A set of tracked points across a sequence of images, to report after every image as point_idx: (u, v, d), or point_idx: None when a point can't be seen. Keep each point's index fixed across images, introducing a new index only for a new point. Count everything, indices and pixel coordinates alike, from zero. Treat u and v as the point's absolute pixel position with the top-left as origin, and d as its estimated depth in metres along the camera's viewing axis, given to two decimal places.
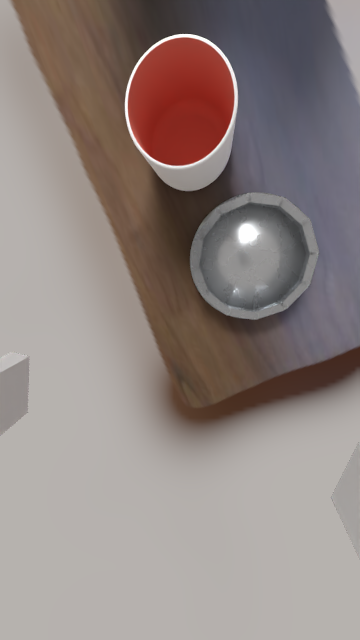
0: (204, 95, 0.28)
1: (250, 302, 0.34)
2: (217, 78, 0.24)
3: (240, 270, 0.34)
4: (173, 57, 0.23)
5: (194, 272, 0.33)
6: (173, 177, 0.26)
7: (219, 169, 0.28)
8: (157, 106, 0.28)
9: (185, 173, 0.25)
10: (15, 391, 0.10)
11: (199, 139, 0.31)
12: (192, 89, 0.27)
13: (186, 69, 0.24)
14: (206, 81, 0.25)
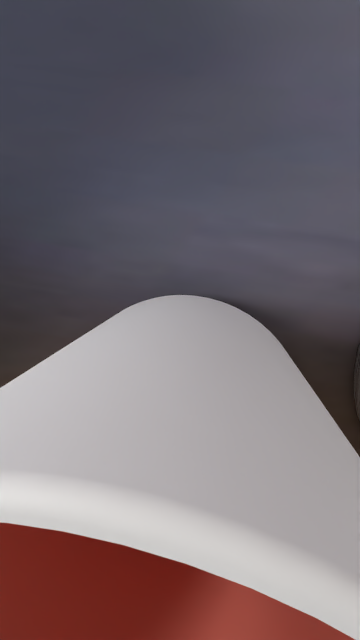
0: None
1: None
2: None
3: None
4: None
5: None
6: None
7: None
8: None
9: None
10: None
11: None
12: None
13: None
14: None
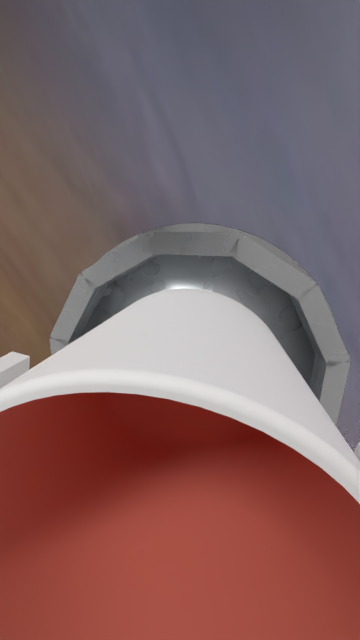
0: None
1: None
2: None
3: None
4: (2, 456, 0.07)
5: None
6: None
7: None
8: (95, 431, 0.12)
9: None
10: None
11: None
12: None
13: None
14: None
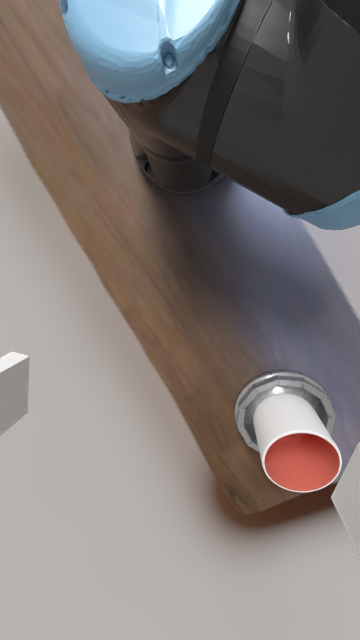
0: None
1: None
2: None
3: None
4: None
5: (240, 430, 0.43)
6: None
7: None
8: None
9: None
10: (15, 391, 0.10)
11: None
12: None
13: None
14: None
